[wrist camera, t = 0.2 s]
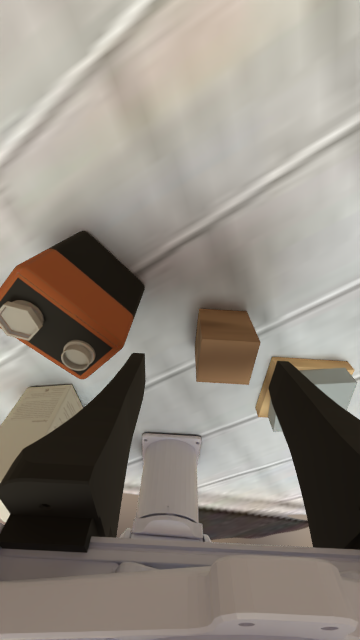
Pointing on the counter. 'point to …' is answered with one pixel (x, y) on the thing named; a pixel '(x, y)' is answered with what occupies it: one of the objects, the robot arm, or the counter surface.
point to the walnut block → (225, 346)
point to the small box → (34, 422)
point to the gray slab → (325, 388)
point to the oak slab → (300, 364)
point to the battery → (71, 304)
